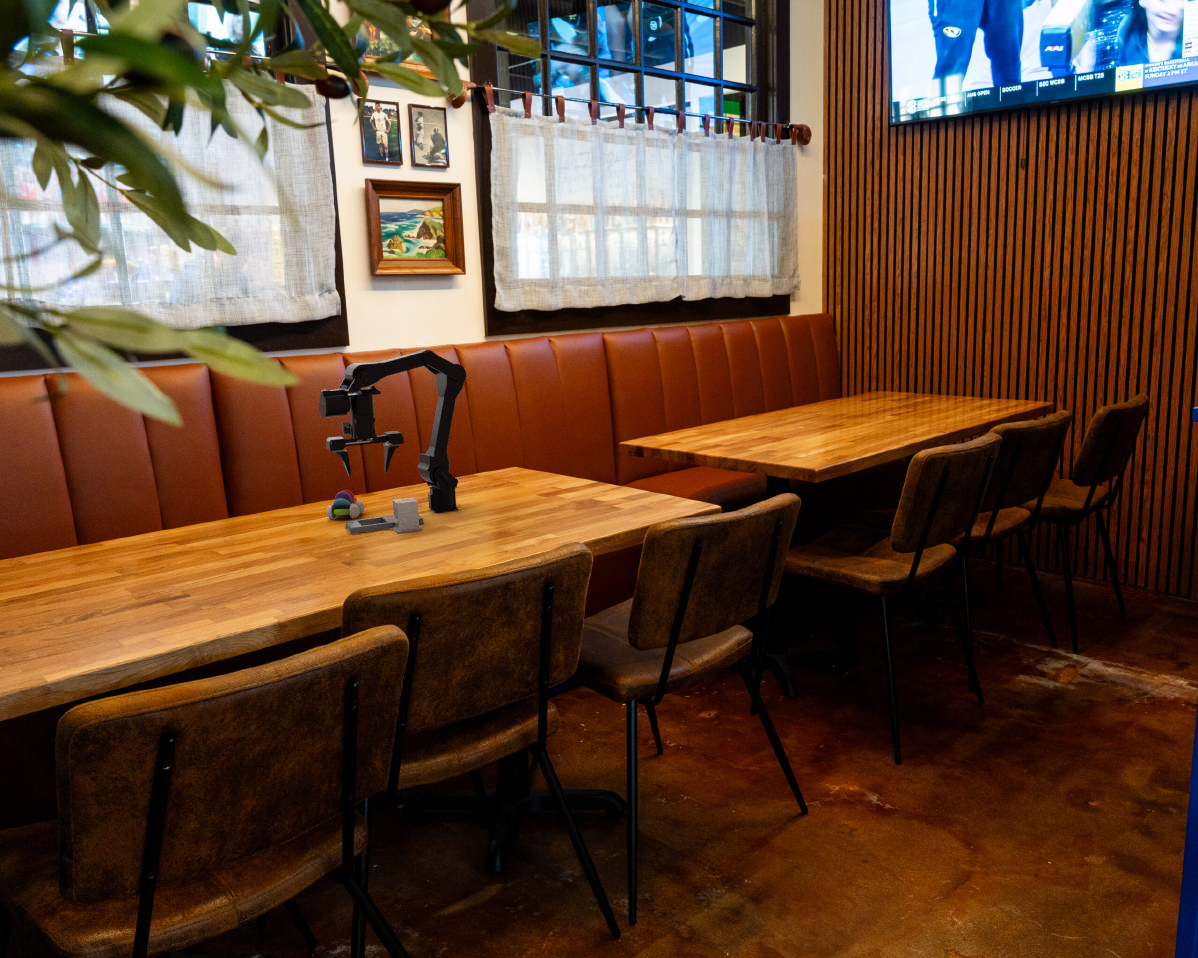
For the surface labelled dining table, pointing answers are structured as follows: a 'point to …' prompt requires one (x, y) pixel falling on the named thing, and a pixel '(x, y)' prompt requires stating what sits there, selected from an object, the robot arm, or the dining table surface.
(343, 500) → the rainbow dome toy
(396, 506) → the brushed metal block
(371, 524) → the plate with rectangular hole
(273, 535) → the dining table surface
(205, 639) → the dining table surface
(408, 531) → the pad
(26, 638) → the dining table surface
